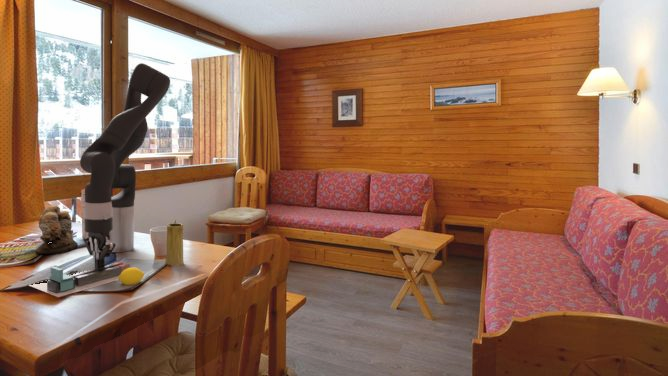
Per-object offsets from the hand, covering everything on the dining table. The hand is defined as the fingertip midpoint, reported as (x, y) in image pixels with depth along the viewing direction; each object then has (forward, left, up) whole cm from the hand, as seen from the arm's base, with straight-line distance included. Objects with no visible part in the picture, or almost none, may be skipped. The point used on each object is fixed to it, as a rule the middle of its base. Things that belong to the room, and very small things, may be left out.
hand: (99, 269), depth 125 cm
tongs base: (+4, -5, -1) cm, 7 cm away
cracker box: (-50, +30, -2) cm, 58 cm away
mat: (+2, -4, -2) cm, 5 cm away
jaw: (+2, -2, -1) cm, 3 cm away
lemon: (+14, +1, -2) cm, 14 cm away
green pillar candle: (+8, +22, -2) cm, 24 cm away
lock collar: (+4, -13, -1) cm, 14 cm away
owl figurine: (-39, +8, -2) cm, 40 cm away
